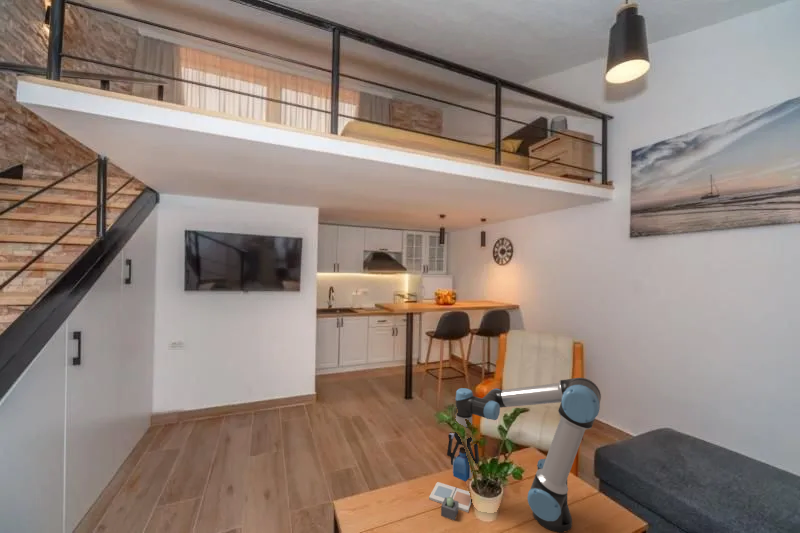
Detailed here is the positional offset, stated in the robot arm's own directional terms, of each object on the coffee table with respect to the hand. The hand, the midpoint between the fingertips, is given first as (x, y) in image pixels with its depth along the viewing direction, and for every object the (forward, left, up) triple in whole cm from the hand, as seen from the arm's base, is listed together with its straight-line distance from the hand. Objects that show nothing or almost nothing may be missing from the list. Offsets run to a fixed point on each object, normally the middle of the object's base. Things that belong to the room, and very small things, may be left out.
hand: (462, 474), depth 144 cm
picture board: (+5, 0, -12) cm, 13 cm away
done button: (+3, +10, -10) cm, 14 cm away
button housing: (+3, +10, -12) cm, 16 cm away
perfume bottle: (0, 0, -1) cm, 1 cm away
